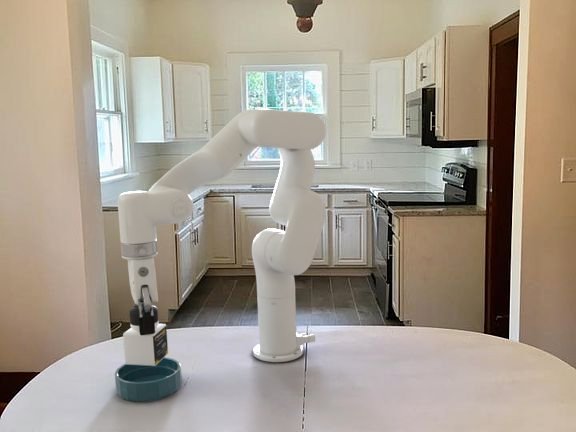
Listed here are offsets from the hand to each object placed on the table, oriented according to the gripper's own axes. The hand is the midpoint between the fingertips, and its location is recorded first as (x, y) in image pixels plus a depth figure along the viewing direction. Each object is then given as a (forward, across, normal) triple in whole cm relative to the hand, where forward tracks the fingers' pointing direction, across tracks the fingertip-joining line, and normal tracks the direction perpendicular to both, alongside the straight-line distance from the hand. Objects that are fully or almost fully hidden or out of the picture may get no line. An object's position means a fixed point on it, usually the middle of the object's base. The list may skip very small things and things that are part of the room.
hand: (144, 327), depth 132 cm
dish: (+14, 0, 0) cm, 14 cm away
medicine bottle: (+7, 0, 0) cm, 7 cm away
